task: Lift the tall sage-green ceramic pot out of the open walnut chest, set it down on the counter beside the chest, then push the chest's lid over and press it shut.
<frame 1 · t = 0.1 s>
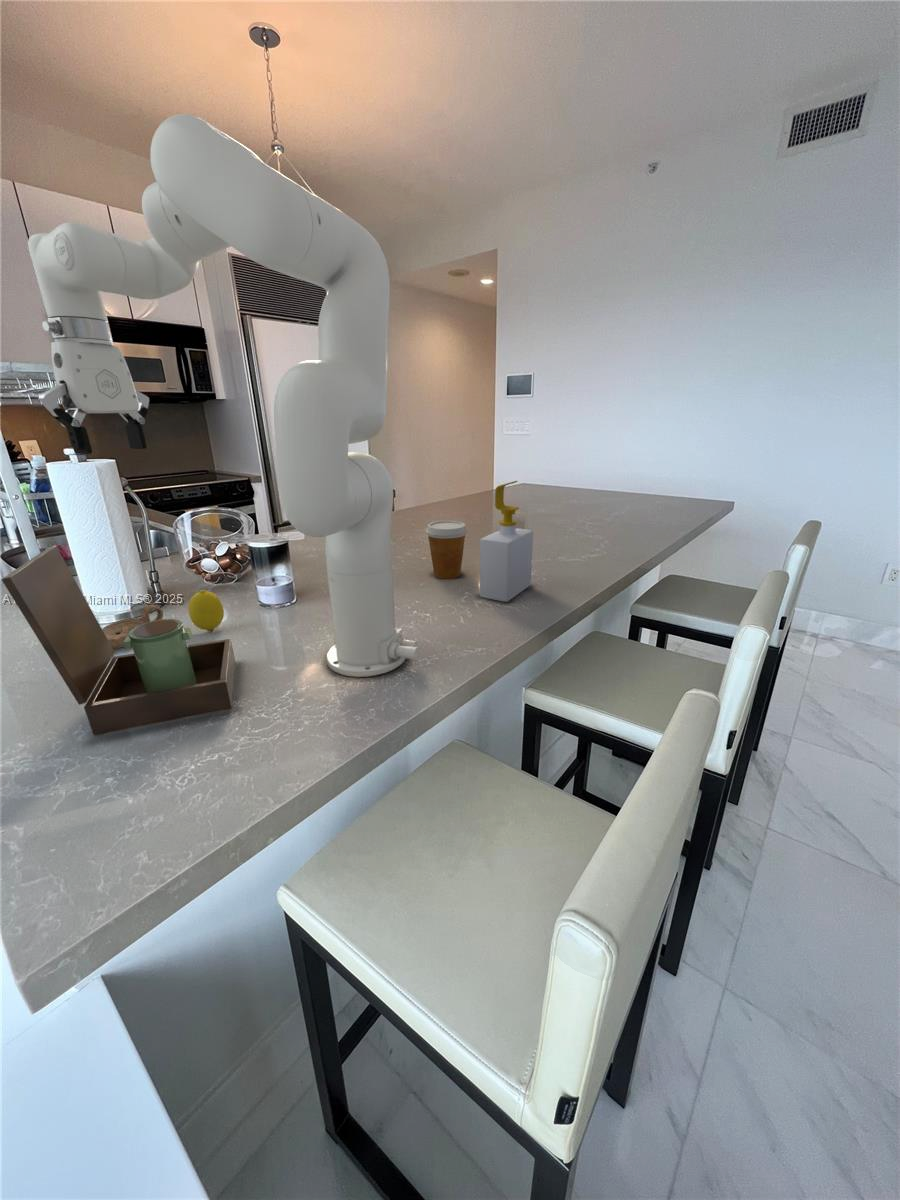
hand: (112, 451, 81), 31 cm above the table, tool pointing down, fingers open, 9 cm apart
disposable coffee cup: (447, 575, 117), on the table
chest lid: (66, 621, 60), point 13 cm above the table, hinge at 100.0°
lemon: (211, 632, 89), on the table
green pot: (173, 693, 68), point 1 cm above the table, touching chest
chest: (174, 698, 68), on the table
oil lamp: (130, 643, 85), on the table
soap bottle: (505, 592, 105), on the table
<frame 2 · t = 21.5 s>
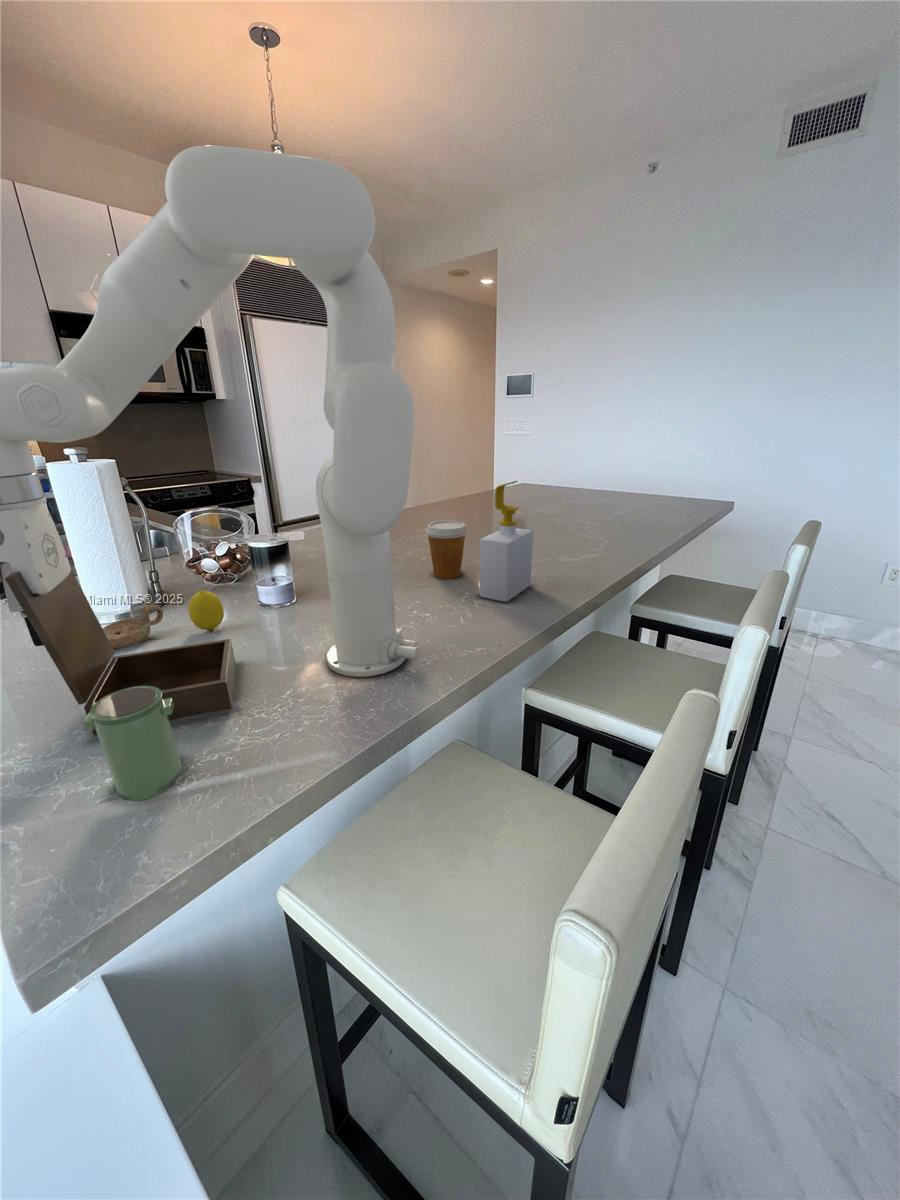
hand: (52, 641, 61), 11 cm above the table, tool pointing down, fingers closed
chest lid: (68, 621, 60), point 13 cm above the table, hinge at 98.9°, touching gripper
green pot: (150, 779, 53), on the table
everything else where it was.
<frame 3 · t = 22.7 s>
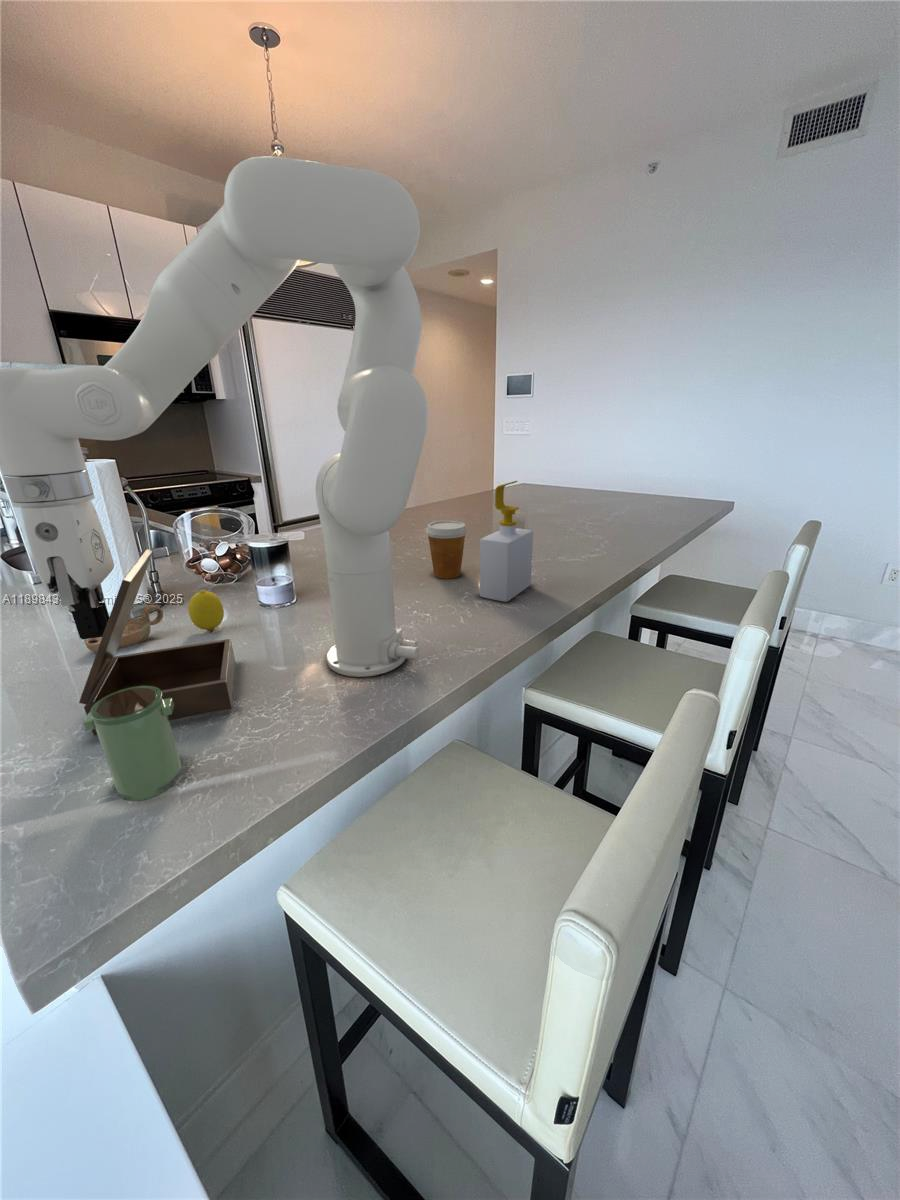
hand: (97, 634, 62), 11 cm above the table, tool pointing down, fingers closed
chest lid: (118, 621, 62), point 12 cm above the table, hinge at 61.5°, touching gripper
everything else where it was.
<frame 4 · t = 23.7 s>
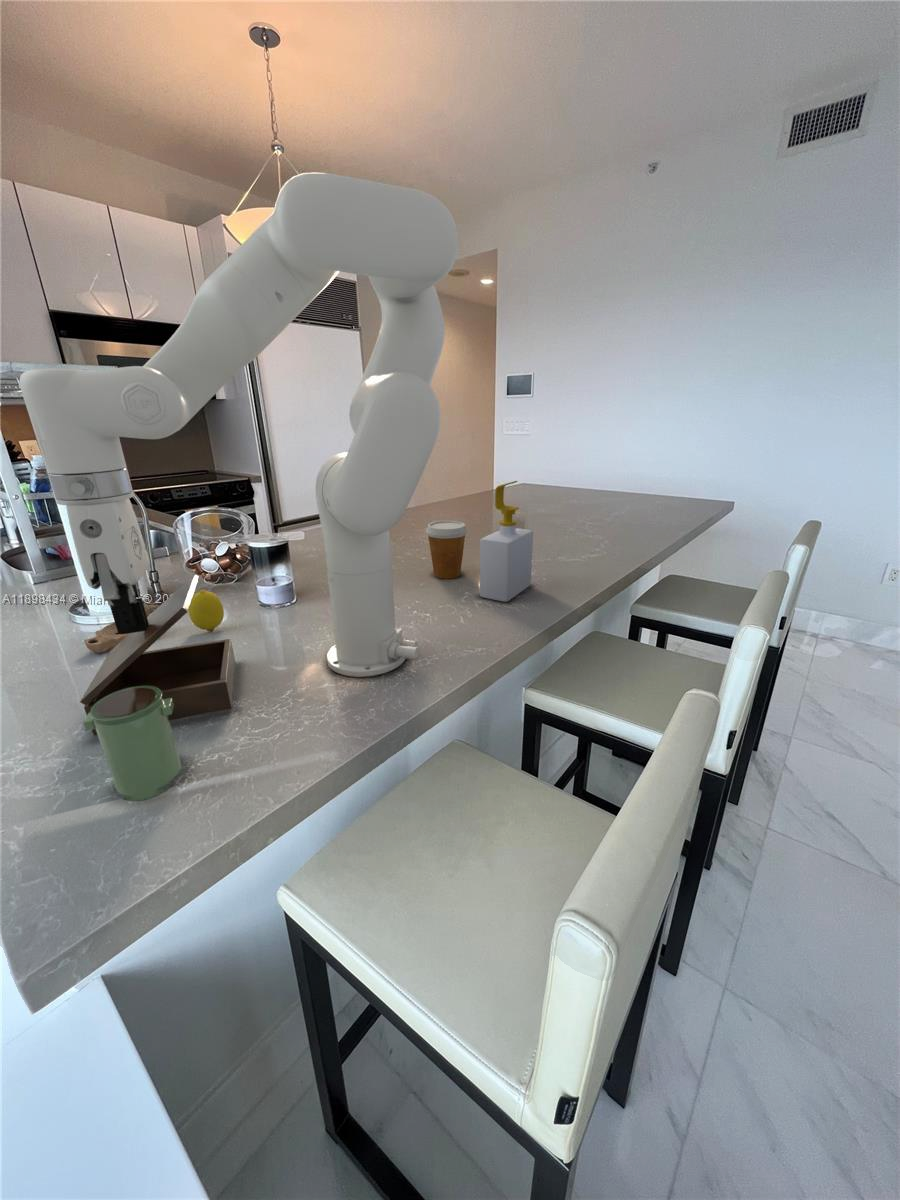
hand: (134, 629, 63), 11 cm above the table, tool pointing down, fingers closed
chest lid: (145, 633, 64), point 10 cm above the table, hinge at 38.0°, touching gripper
everything else where it was.
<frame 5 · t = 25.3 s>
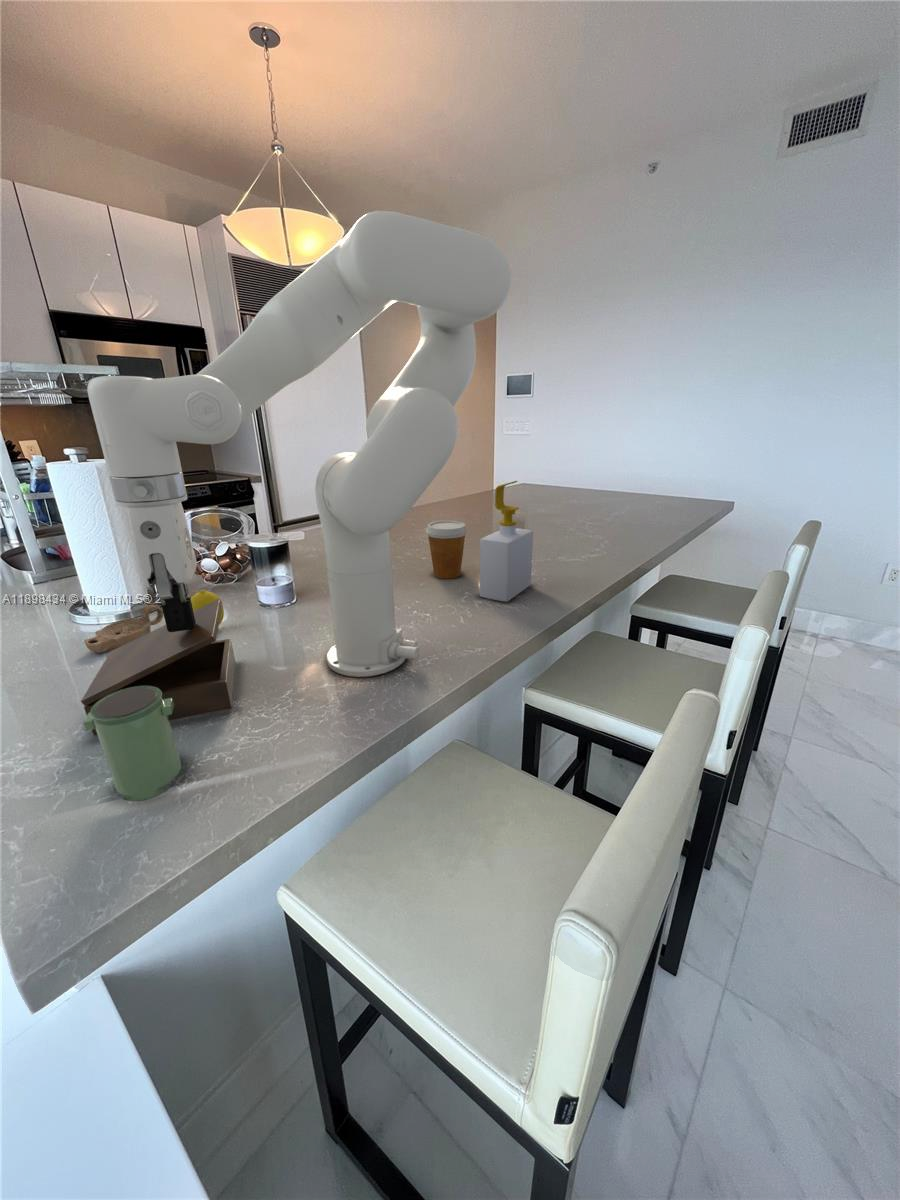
hand: (182, 628, 65), 10 cm above the table, tool pointing down, fingers closed
chest lid: (159, 646, 65), point 8 cm above the table, hinge at 20.8°
everything else where it was.
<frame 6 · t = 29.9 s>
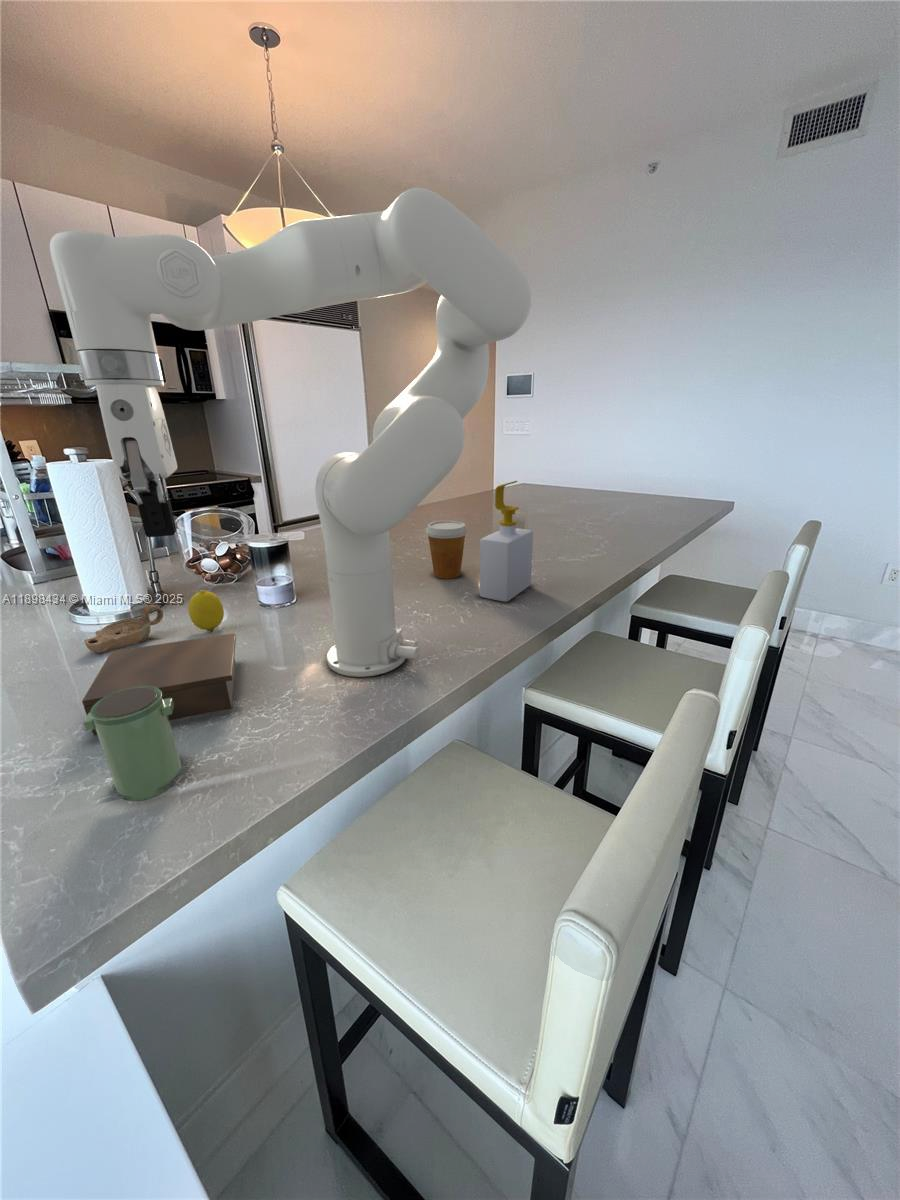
hand: (161, 534, 61), 23 cm above the table, tool pointing down, fingers closed
chest lid: (169, 665, 66), point 5 cm above the table, hinge at -0.2°, touching chest
everything else where it was.
at the end: green pot inside the target area (0.1 cm from its centre), on the table; green pot tilted 0°; chest lid at +0° (first picture: +100°) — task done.
